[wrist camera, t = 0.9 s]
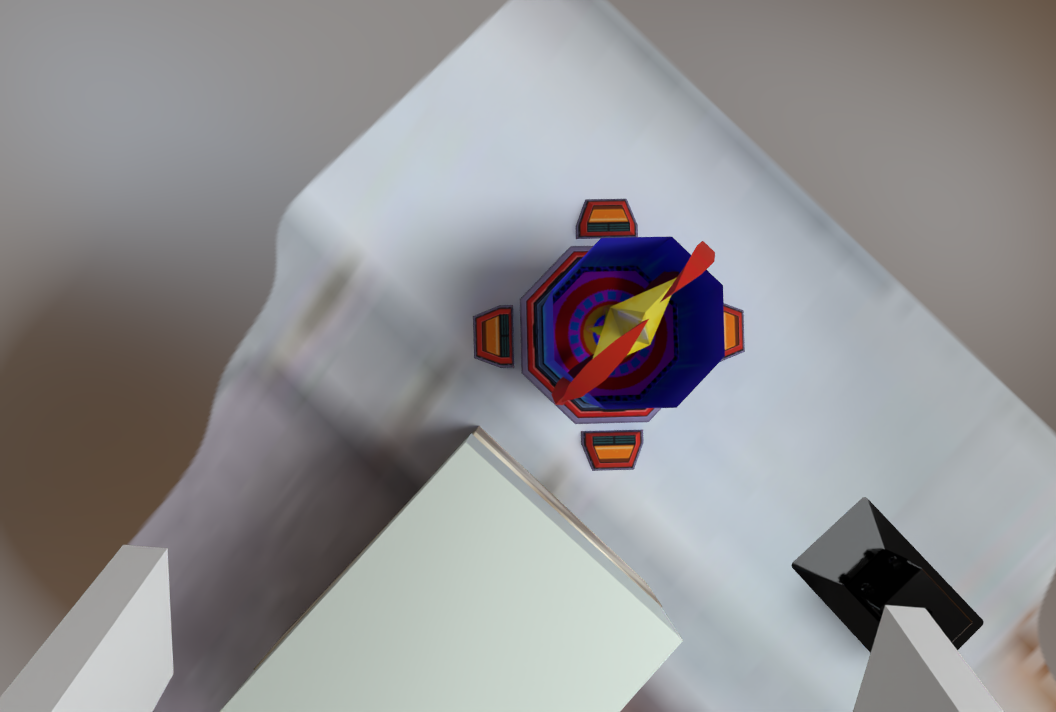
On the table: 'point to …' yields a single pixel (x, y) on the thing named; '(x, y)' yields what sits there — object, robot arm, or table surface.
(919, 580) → the build plate
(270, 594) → the table surface
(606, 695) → the top block
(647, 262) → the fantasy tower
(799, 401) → the table surface
